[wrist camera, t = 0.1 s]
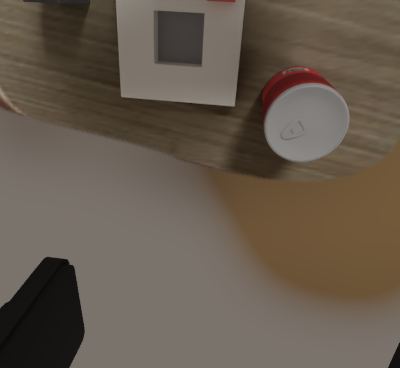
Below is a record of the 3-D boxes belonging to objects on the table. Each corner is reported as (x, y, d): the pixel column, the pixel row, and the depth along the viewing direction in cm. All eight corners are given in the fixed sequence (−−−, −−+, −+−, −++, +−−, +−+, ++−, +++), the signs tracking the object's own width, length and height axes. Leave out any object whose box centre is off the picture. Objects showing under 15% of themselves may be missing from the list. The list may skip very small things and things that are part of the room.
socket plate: (121, -35, 38) (110, -39, 35) (248, -29, 37) (248, -32, 34) (127, 92, 45) (118, 98, 42) (235, 101, 44) (234, 108, 41)
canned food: (247, 101, 43) (247, 129, 34) (295, 50, 40) (311, 64, 30) (290, 140, 45) (302, 178, 35) (340, 94, 42) (368, 121, 32)
